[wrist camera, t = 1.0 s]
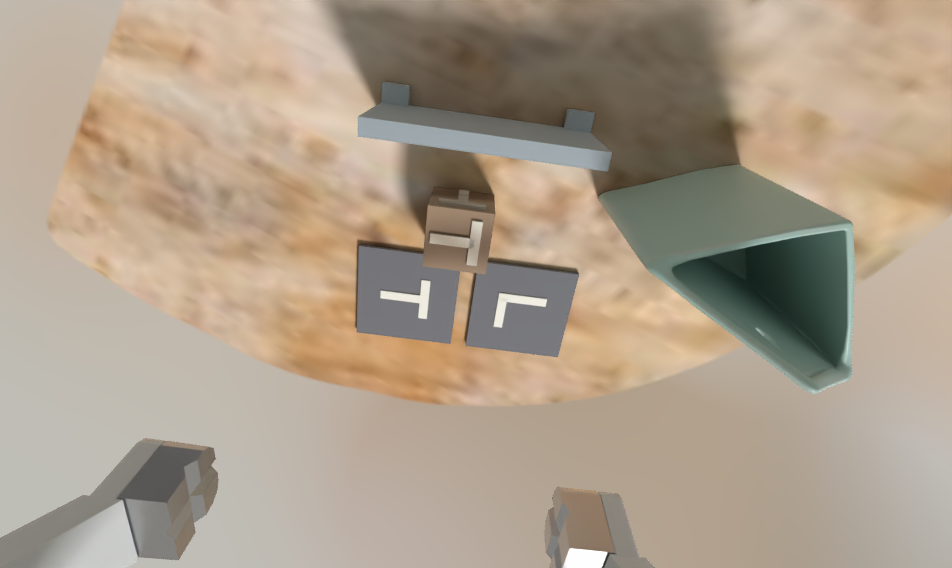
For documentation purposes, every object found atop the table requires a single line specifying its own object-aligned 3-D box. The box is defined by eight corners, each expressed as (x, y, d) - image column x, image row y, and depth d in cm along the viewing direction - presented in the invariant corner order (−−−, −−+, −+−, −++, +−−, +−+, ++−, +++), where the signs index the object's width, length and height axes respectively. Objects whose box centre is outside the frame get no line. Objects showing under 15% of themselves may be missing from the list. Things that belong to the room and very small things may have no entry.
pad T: (359, 244, 42) (358, 246, 42) (461, 257, 43) (461, 259, 42) (357, 329, 46) (356, 332, 46) (450, 341, 47) (450, 344, 46)
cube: (434, 184, 40) (427, 203, 35) (494, 192, 40) (495, 212, 35) (429, 242, 42) (421, 267, 37) (485, 249, 42) (485, 275, 38)
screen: (384, 81, 36) (358, 92, 29) (593, 112, 37) (618, 129, 30) (381, 135, 38) (357, 158, 31) (580, 164, 39) (602, 192, 31)
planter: (813, 212, 40) (1068, 349, 22) (745, 286, 43) (921, 455, 26) (657, 111, 37) (812, 179, 19) (596, 199, 40) (681, 326, 22)
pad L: (478, 259, 43) (478, 262, 42) (578, 272, 43) (579, 275, 43) (466, 343, 47) (465, 346, 46) (557, 354, 47) (557, 357, 47)
